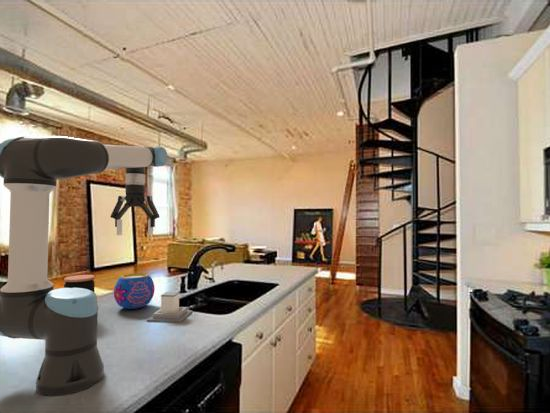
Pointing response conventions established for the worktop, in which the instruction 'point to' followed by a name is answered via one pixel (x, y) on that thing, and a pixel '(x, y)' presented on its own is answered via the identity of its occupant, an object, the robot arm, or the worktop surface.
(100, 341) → the worktop surface
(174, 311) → the plug block
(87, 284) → the coffee jar
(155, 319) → the socket plate
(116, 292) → the ceramic pot
